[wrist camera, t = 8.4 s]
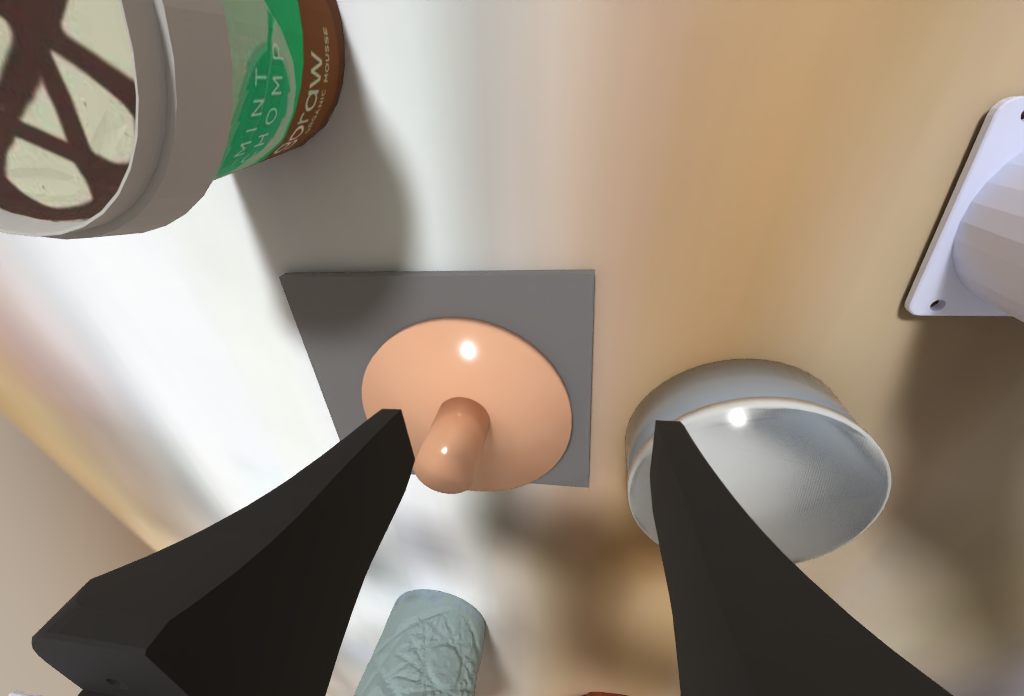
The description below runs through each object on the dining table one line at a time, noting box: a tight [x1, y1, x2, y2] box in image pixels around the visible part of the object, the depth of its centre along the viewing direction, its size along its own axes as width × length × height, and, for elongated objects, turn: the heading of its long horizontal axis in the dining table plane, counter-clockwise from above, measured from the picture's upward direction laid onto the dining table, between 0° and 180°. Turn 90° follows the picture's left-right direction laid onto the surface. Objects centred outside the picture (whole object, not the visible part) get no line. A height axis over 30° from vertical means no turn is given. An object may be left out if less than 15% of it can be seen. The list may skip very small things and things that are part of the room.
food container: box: [0, 0, 345, 239], centre depth 13 cm, size 12×6×10 cm, turn 155°
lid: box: [362, 317, 572, 494], centre depth 23 cm, size 12×12×5 cm
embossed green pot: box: [354, 590, 485, 696], centre depth 34 cm, size 10×10×12 cm
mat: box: [279, 270, 594, 487], centre depth 25 cm, size 16×14×1 cm
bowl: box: [625, 359, 891, 564], centre depth 22 cm, size 11×11×4 cm
